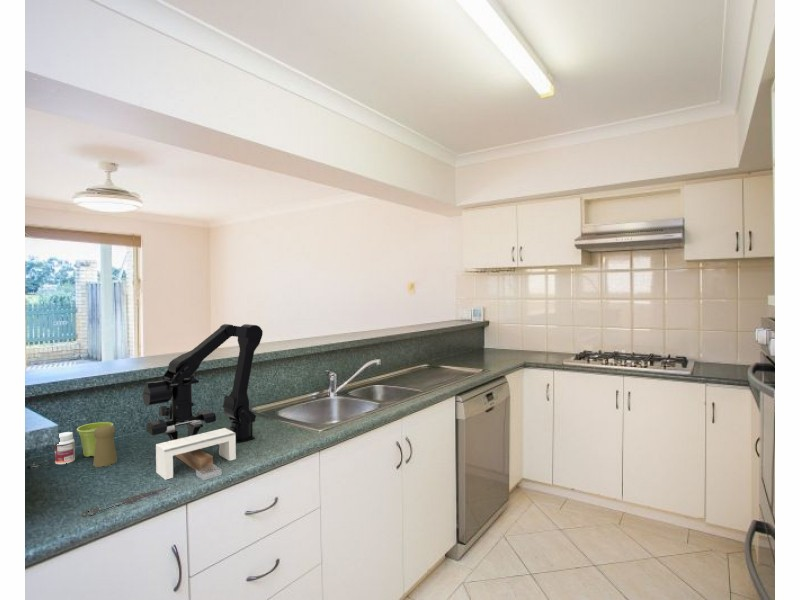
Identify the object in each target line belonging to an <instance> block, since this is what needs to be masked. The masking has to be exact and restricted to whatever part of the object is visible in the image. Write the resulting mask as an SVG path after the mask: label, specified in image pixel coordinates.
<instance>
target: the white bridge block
mask: <svg viewBox="0 0 800 600" xmlns="http://www.w3.org/2000/svg"><path fill="white" fill-rule="evenodd" d="M236 443H237V442H236V435H235V432H233V431H230V429H228V428H226V427H223V428H219V429H214V430H210V431H207V432H202V433H197V435H193V436H189V437H188V436H185V437H181V438H180V439H176V440H172V441H169V440H168V441H164V442H159V443H156V444H155V472H156V474H158V476H160V477H162V479H164V481H165V480H168V479H172V478H174V457H175V456H174V455H178V454H182V453H186V452H189V451H193V450H197V449H201V450H202V449H204V448H208V447H211V446H216V445H218V455H219V456H220V457H222V458H224V459H226V460H227V461H234V460H236V459H237V455H236V454H237V453H236V452H237V451H236V450H237V448H236Z"/></svg>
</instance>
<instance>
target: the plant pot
mask: <svg viewBox="0 0 800 600" xmlns="http://www.w3.org/2000/svg"><path fill="white" fill-rule="evenodd" d="M105 425H111V426H113V427H114V423H112V422H109V421H103V422H92V423H87V424H83V425H81V426H78V427H77V428H76V431H77V432H78V434H79V436H80V440H81V441H80V443H81V447H82V453H83V456H84V457H87V458H88V457H94V454H95V447H96V438H95V436H94V431H95V430H96V428H98V427H100V426H105Z"/></svg>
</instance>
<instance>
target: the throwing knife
mask: <svg viewBox="0 0 800 600" xmlns="http://www.w3.org/2000/svg"><path fill="white" fill-rule="evenodd" d="M172 488H174V487H173V486H171V487H165V488H160V489H157V490H152V491H151V490H150V491H147V492H142V493H139V494H134V495H132V496H128V497H126V498H123V499H122V500H119V501H116V502H112V503H110V504H105V505H102V506H99V507H93V508H88V509H86V510H84V511H82V512H81V517H83V516H90V517H92V516H91V515H94V514H96V513H98V511H99V512H100V511H103V510H106V509H108V510H110V509H109V508H111V509H113V508H112V507H114V506H112V507H109V508H106V509H103V510H99V508H101V507H104V506H109V505H111V504H115V503H119V502H123V503H122V504H125V503H131V504H134V503H133V502H136V503H138V502H137V501H139V502H141V501H144V500H146V499H149V498H152V497H154V496H156V495H159V494H161V493H163V492H167V491H168V490H170V489H172ZM151 493H152V494H151ZM137 497H139V498H137ZM131 499H132V500H131ZM140 500H141V501H140ZM124 501H125V502H124ZM118 505H121V504H118ZM118 505H115V506H118ZM125 505H126V504H125ZM121 506H122V505H121ZM118 507H119V506H118ZM114 508H115V507H114ZM92 510H93V511H95V512H91V513H89V512H88V511H92ZM106 511H107V510H106ZM86 512H88V513H86ZM103 512H104V511H103ZM98 514H99V513H98ZM96 515H97V514H96ZM94 516H95V515H94Z"/></svg>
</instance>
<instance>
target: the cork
mask: <svg viewBox="0 0 800 600" xmlns="http://www.w3.org/2000/svg"><path fill="white" fill-rule="evenodd" d="M114 435H116V429H115V427H114V425H113V426H111V425H105V426H100V427H98V428H96V430H95V431H94V436H95V438H96V447H95V454H94V456H93V461H92V462H93V463H92V466H93V467H94V466H95V467H94V468H103V467H102V466H105V467H108V465H109V466H112V465H114V464H113V463H115V462H116V463H117V462H118V457H117V456H118V455H117V451H116V450H117V449H116V444H115V440H114ZM116 463H115V464H116ZM111 464H112V465H111Z"/></svg>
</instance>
